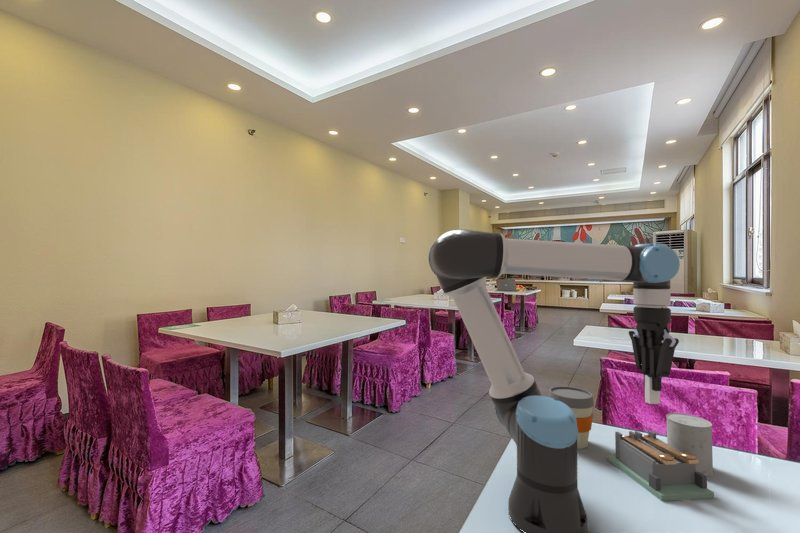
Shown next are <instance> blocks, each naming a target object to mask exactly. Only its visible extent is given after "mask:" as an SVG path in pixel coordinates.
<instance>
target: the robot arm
mask: <svg viewBox="0 0 800 533" xmlns="http://www.w3.org/2000/svg"><path fill="white" fill-rule="evenodd" d="M428 264H429V268H430V270H431V271H432V272H433V274H434V275H435V276H436V278H437V281H438V283H439V285H440V287H441V289H442V291H443V294H444V295H446V296H448V297H451V298H452V299H453V301H454V303H455V306H456V307H457V310H458V313H459V314H460V317H461V319H462V322H463V324H464V326H465V329H466V330H467V333H468V334H469V337H470V340H471V341H472V344H473V346H474V348H475V351H476V352H477V355H478V357H479V360H480V361H481V363H482V366H483V368H484V370H485V372H486V375H487V377H488V380H489V382H490V384H491V386H490V387H489V391H488V395H489V396H490V398H491V401H492V403H493V406H494V410H495V414H496V417H497V419H498V420H499V422H500V424H501V425H502V426H503V427H504V429H505V430H506V432H507V433H508V434H509V436H510V437H511V439H512V440H513V442H514V443H515V446H516V477H515V480H514V483H513V485H512V488H511V491H510V494H509V498H508V504H507V505H508V511H509V512H508V511H507V512H508V516H509V515H510V517H511V519H512V521H513V522H514V523H515V524H516V526H517V527H518V528H519V529H521V530H523V531H524V532H526V533H589V525H588V524H589V521H588V515H587V512H586V509H585V506H584V503H583V500H582V496H581V494H580V490H579V487H578V485H579V484H578V449H577V438H578V427H577V421H576V416H575V414H574V412H573V411H572V409H571V408H570V407H569V406H567V405H566V404H564V403H563V402H561V401H556V400H554V399H553V398H550V397H549V396H544V395H542V392H541V391H540V389H539V386H538V384H537V382H536V380H535V378H534V376H533V375H532V374H530V373H527V372H525V371H524V368H523V367H522V364H521V361H520V360H519V358H518V355H517V353H516V351H515V348H514V346H513V345H512V344H513V343H512V342H511V340H510V338H509V335H508V333H507V330H506V328H505V327H504V324H503V322H502V320H501V318H500V316H499V313H498V311H497V309H496V306H495V305H494V302H493V300H492V298H491V296H490V294H489V291H488V289H487V286H486V281H487V278H493V279H494V278H496V279H497V278H498V279H499V278H500V277H501V276H502V275H503V274H504V275H505V274H506V275H507V274H508V275H519V276H520V275H523V276H535V277H536V276H538V277H539V276H540V277H552V278H553V277H555V278H557V277H558V278H572V279H587V280H588V281H590V282H598V283H602V282H605V283H606V282H608V283H609V282H610V283H614V282H615V283H633V285H632V286H633V287H632V288H633V290H632V293H633V294H632V296H633V299H632V303H633V304H634V305H635V306H634V307H633V320H634V321H635V322H636V326H635V329H634V330H629V331H628V335H629V338H630V340H631V346H632V350H633V351H632V352H633V356H634V362H635V368H636V369H637V370H638V371H641V373H642V375H643V387H644V401H645V403H646V404H649V405H653V404H654V405H661V391H662V378H666V377H667V378H668V377H670V376H671V375H670V374H671V372H672V371H671V369H672V366H673V360H674V355H675V349H676V348H677V346H678V344H679V343H680V340H679V339H678V338H676V337H675V338H673V337H672V335H671V334H670V330H669V328H668V325H669V324H670V323H672V322H671V321H672V310H671V309H670V308H669V307H670V306H671V304H672V302H671V280H673V279H674V278H675V277H676V276H677V274H678V273H679V270H680V267H681V266H680V265H681V264H680V257H679V255H678V254H677V252H676V251H675V250H674V249H672V248H671V247H669V245H668V244H666V243H660V242H659V243H640V244H639V243H638V244H635V245H621V244H620V245H618V244H602V243H588V242H587V243H586V242H573V241H572V242H571V241H554V240H536V239H521V238H520V239H519V238H507V237H506V236H505V235H504V234H503V233H501V232H489V231H481V230H479V231H478V230H472V229H465V228H464V229H463V228H458V229H457V228H455V229H452V230H448V231H446V232H444V233H443V234H442V235H441V234H440V236H439V237H438V238H437V239H436V240H435V241H434V242H433V244H432V245H431V246H430V249H429V252H428ZM668 306H669V307H668ZM510 517H509V518H510ZM511 519H510V520H511ZM512 521H511V522H512ZM513 522H512V523H513ZM516 526H515V527H516ZM517 527H516V528H517ZM518 528H517V529H518ZM519 529H518V530H519Z"/></svg>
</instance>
